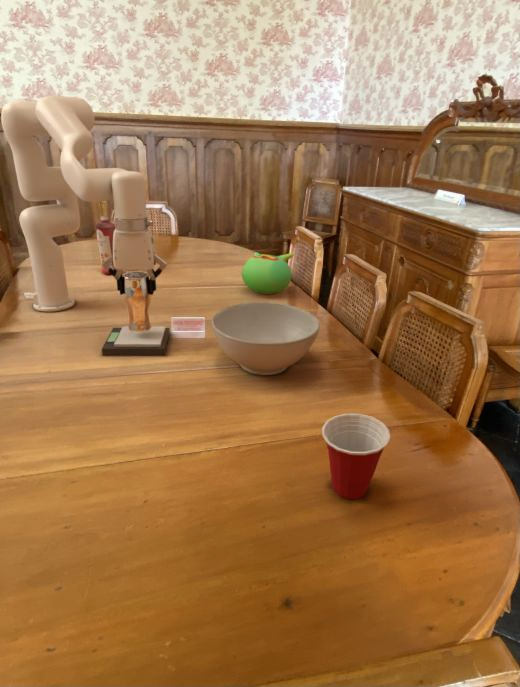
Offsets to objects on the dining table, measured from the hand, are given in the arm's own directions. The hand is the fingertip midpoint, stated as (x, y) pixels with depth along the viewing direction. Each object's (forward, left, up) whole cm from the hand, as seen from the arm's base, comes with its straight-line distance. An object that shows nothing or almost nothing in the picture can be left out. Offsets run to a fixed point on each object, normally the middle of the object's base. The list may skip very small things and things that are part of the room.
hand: (137, 292), depth 123 cm
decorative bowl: (+33, -12, -15) cm, 38 cm away
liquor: (-23, +67, -15) cm, 72 cm away
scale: (-1, 0, -15) cm, 15 cm away
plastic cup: (+44, -58, -15) cm, 74 cm away
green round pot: (+38, +45, -15) cm, 61 cm away
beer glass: (0, 0, -10) cm, 10 cm away
